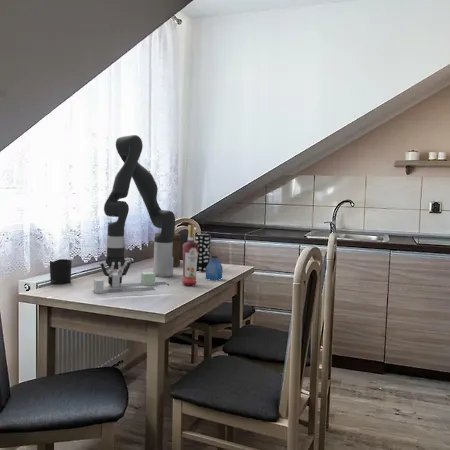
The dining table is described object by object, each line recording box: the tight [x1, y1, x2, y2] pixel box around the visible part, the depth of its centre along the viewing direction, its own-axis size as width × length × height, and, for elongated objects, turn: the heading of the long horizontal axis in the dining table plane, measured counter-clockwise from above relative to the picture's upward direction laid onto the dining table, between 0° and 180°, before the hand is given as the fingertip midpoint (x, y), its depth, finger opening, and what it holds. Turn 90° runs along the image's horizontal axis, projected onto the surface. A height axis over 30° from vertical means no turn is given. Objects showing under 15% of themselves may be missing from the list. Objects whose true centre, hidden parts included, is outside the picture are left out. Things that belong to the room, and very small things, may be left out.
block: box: [140, 271, 156, 286], centre depth 219 cm, size 5×5×5 cm
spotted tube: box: [194, 233, 212, 273], centre depth 263 cm, size 8×8×20 cm
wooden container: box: [154, 232, 181, 268], centre depth 276 cm, size 15×15×22 cm
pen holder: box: [49, 258, 73, 285], centre depth 219 cm, size 9×9×10 cm
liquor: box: [181, 224, 198, 287], centre depth 224 cm, size 7×7×28 cm
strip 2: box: [109, 272, 170, 288], centre depth 218 cm, size 26×6×6 cm, turn 115°
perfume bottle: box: [205, 254, 224, 281], centre depth 241 cm, size 6×6×12 cm
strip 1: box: [92, 278, 157, 295], centre depth 205 cm, size 26×6×6 cm, turn 115°
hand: (114, 284), depth 213 cm, fingers closed on strip 2, 3 cm apart
